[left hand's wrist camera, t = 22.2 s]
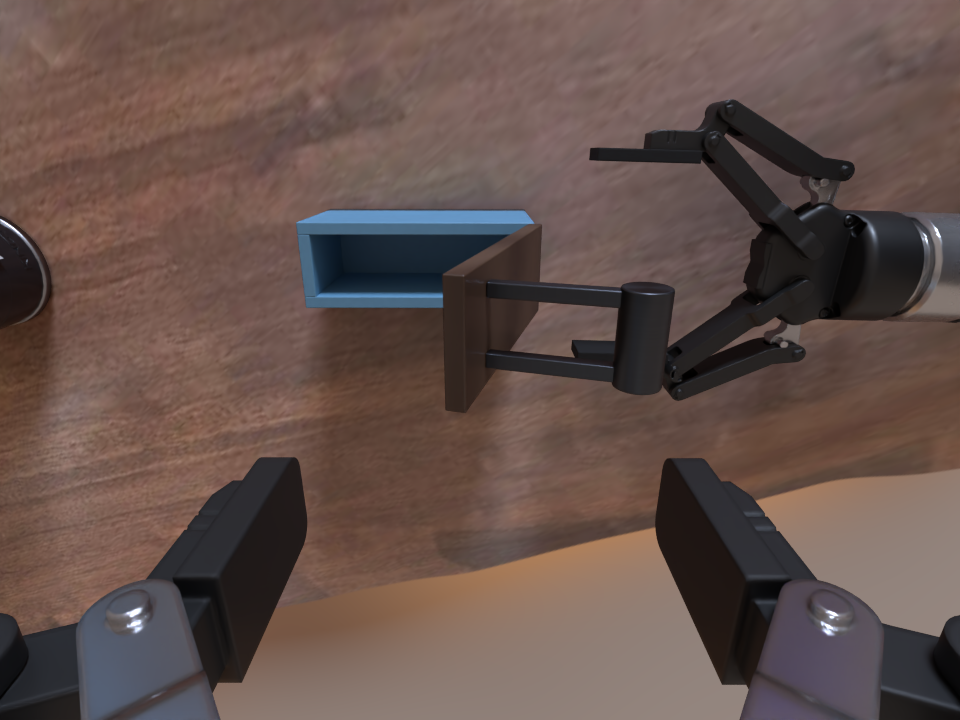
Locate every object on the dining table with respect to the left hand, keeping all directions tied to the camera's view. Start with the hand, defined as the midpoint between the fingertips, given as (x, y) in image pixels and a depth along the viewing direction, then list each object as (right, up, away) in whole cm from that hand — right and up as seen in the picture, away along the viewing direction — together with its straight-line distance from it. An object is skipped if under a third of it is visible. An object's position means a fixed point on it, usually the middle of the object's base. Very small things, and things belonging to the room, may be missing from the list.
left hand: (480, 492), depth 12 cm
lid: (+1, +6, +16) cm, 17 cm away
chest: (-4, +12, +31) cm, 34 cm away
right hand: (+7, +10, +25) cm, 28 cm away
